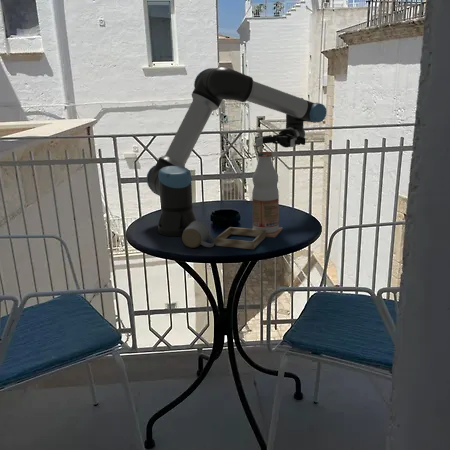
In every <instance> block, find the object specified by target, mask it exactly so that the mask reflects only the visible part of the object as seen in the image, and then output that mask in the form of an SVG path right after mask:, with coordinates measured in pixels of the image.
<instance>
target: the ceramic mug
mask: <svg viewBox="0 0 450 450" xmlns="http://www.w3.org/2000/svg"><path fill="white" fill-rule="evenodd" d="M181 240H182V243H183V244H184V245H185V247H188V248H190V249H196V248H198V247H200V246H203V247H205V248H213V247H214V246H215V238H214V237H212V236H211V235H210V230H209V227H208V225H207V224H206V223H205V222H203V221H201V220H197V221H193V222H191V223H190V224H189V226H188V227H187V228H186V229H185V230H184V231H183V234H182V236H181ZM207 240H209V241H210V243H209V242H207Z"/></svg>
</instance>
